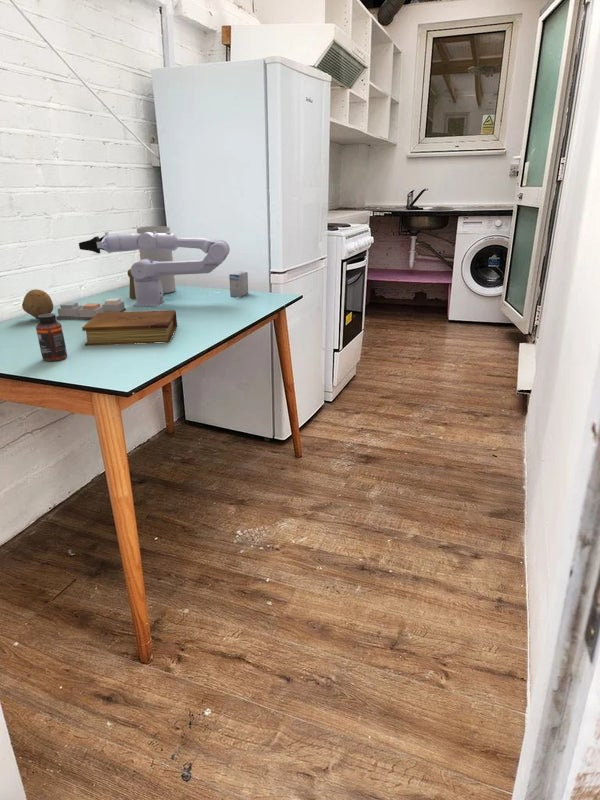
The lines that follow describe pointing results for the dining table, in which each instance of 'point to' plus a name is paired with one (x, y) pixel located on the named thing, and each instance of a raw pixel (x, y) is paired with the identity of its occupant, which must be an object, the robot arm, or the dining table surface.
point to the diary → (130, 327)
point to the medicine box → (238, 284)
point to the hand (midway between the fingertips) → (83, 245)
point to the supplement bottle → (51, 338)
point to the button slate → (69, 305)
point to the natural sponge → (37, 303)
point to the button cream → (112, 301)
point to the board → (89, 311)
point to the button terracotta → (91, 306)
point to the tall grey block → (159, 257)
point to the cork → (131, 285)
